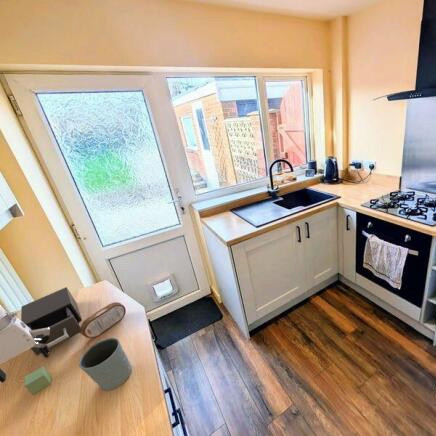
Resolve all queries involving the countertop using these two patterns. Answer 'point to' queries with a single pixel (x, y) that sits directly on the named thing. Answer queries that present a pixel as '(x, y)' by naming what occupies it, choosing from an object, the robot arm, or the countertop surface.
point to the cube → (37, 380)
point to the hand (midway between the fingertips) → (26, 366)
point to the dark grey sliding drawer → (57, 327)
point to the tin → (102, 320)
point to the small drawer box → (49, 306)
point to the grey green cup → (106, 364)
